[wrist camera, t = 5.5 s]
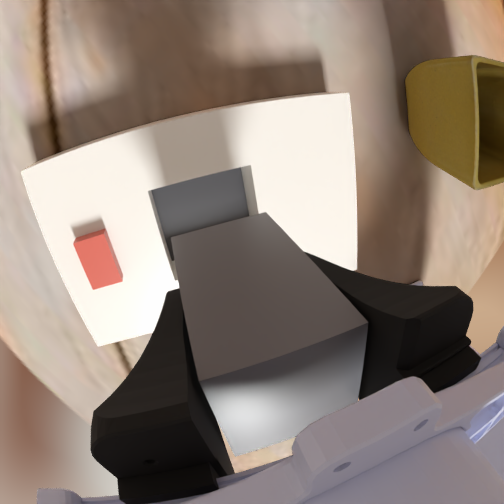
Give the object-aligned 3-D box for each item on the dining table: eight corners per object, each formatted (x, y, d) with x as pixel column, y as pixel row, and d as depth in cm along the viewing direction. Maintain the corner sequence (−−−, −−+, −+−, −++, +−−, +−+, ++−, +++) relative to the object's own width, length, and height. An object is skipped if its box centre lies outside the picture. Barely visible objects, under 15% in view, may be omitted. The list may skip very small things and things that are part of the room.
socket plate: (326, 92, 20) (356, 93, 17) (338, 252, 27) (362, 274, 23) (37, 161, 17) (15, 174, 14) (101, 321, 23) (97, 353, 20)
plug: (260, 206, 15) (368, 322, 8) (271, 281, 18) (355, 411, 10) (169, 230, 15) (198, 381, 7) (192, 305, 17) (235, 456, 9)
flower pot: (391, 160, 24) (475, 193, 17) (381, 55, 20) (473, 54, 12) (455, 147, 26) (529, 174, 18) (450, 60, 22) (530, 68, 14)
